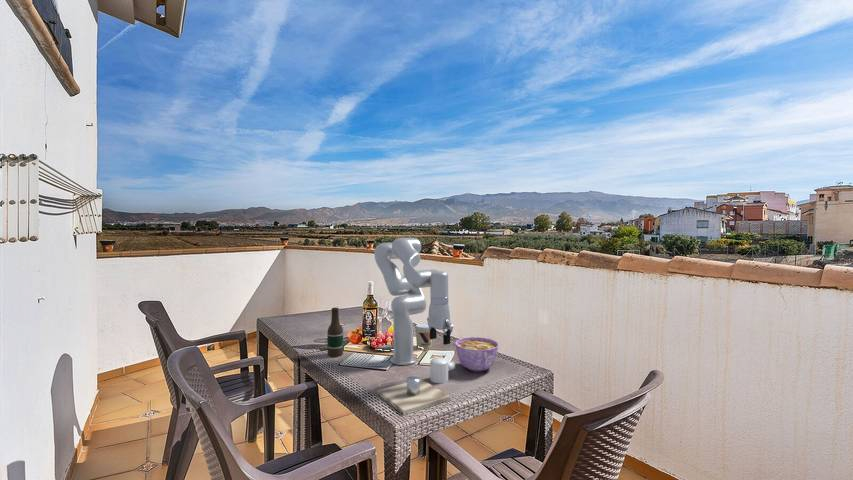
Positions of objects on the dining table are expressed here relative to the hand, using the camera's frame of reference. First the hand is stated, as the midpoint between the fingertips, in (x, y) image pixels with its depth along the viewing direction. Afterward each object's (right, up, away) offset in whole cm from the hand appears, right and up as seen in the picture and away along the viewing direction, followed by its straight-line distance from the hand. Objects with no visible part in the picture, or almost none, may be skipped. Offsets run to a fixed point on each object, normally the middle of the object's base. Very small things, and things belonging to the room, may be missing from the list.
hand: (439, 341), depth 161 cm
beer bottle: (-52, -16, +32) cm, 63 cm away
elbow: (+1, -16, +2) cm, 17 cm away
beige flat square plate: (-11, -17, -16) cm, 26 cm away
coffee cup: (-7, -15, +45) cm, 48 cm away
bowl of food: (+17, -16, +14) cm, 28 cm away
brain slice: (-29, -16, +44) cm, 55 cm away
